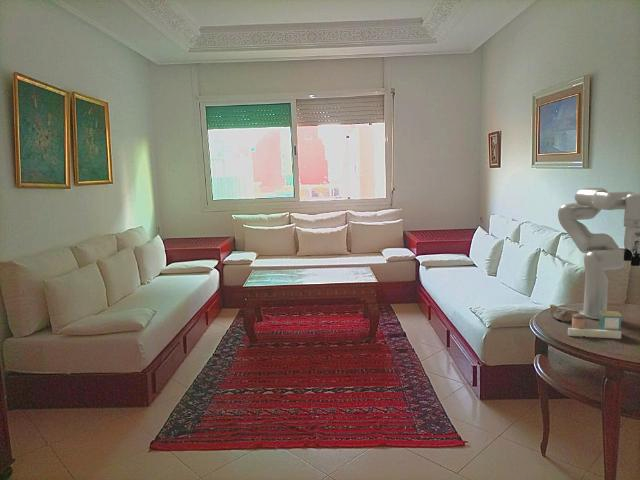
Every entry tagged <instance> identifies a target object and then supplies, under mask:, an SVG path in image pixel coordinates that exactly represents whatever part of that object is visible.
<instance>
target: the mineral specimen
mask: <svg viewBox="0 0 640 480" xmlns="http://www.w3.org/2000/svg"><path fill="white" fill-rule="evenodd" d="M549 311H550V315H551V316H552V317H553V318H554V319H557V320H560V322H568V323H569V322H572V314H576V313H577V314H580V312H579V311H578V310H577V309H576V310H575V309H573V308H568V307H561V306H558V305H555V304H549Z"/></svg>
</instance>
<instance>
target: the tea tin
mask: <svg viewBox="0 0 640 480" xmlns="http://www.w3.org/2000/svg"><path fill="white" fill-rule="evenodd" d="M599 312H600V316H599V319H598V330H614V331H621V329H622V318H623V317H622V316H623V315H622V314H621V312H619V311H614V310H613V311H611V310H606V311H599ZM621 332H622V331H621Z"/></svg>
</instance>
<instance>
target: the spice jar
mask: <svg viewBox="0 0 640 480" xmlns="http://www.w3.org/2000/svg"><path fill="white" fill-rule="evenodd" d="M585 325H586V316H585V315H583V314H580V313H579V314H577V313H576V314H572V321H571V328H578V329H586V328H585V327H586V326H585Z"/></svg>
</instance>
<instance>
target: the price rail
mask: <svg viewBox="0 0 640 480" xmlns="http://www.w3.org/2000/svg"><path fill="white" fill-rule="evenodd" d="M567 336H570V337H583V336H585V337H584V338H587V337H588V338H600V339H601V338H605V339H616V340H617V339H622V331H614V330H599V329H594V328H593V329H592V328H585V329H578V328H572V327H567Z"/></svg>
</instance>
